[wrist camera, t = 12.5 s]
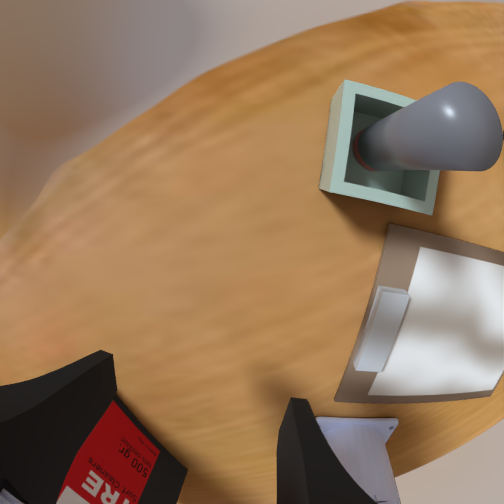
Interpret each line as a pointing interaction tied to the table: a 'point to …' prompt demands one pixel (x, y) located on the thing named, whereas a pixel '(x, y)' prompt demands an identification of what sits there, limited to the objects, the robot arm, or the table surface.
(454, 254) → the clipboard
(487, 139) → the marker
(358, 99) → the box
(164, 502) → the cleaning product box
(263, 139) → the table surface
